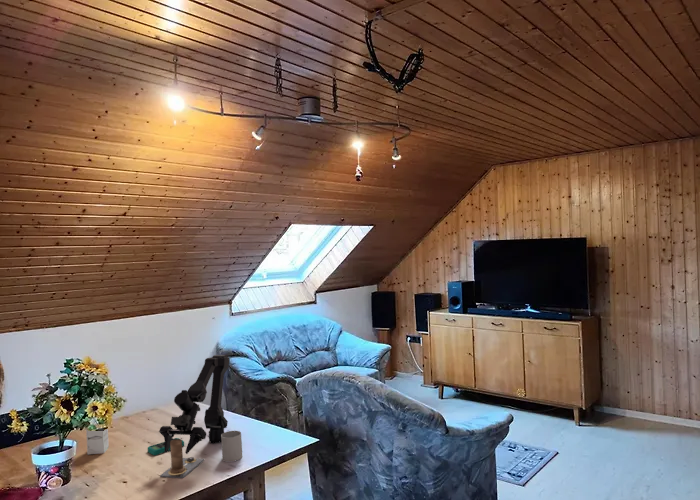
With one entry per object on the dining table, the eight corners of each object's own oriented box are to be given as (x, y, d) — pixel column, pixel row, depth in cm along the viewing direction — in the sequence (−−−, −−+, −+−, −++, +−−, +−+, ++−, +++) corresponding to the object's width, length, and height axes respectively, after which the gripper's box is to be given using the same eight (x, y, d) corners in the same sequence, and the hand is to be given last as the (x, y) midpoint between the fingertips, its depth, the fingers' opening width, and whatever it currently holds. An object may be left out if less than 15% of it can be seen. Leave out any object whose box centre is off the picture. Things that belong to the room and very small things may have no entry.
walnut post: (182, 466, 217) (180, 437, 216) (186, 471, 212) (185, 441, 212) (168, 470, 213) (166, 440, 213) (172, 475, 209) (170, 444, 209)
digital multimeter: (185, 446, 242) (185, 440, 242) (154, 456, 231) (153, 450, 231) (178, 442, 247) (177, 436, 247) (146, 452, 237) (146, 446, 236)
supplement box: (86, 455, 236) (85, 427, 236) (92, 449, 243) (90, 421, 243) (104, 453, 237) (102, 425, 237) (109, 447, 244) (107, 420, 244)
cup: (224, 463, 220) (223, 439, 219) (220, 456, 227) (218, 433, 227) (244, 458, 223) (243, 435, 223) (239, 452, 231) (238, 429, 231)
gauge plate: (183, 459, 226) (182, 455, 226) (204, 460, 224) (204, 456, 224) (160, 476, 209) (159, 472, 209) (182, 478, 207) (182, 474, 207)
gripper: (160, 406, 219) (145, 443, 208) (201, 407, 215) (188, 445, 204) (171, 419, 227) (158, 455, 216) (211, 420, 222) (200, 457, 212)
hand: (175, 453), depth 212 cm, fingers open, 9 cm apart
